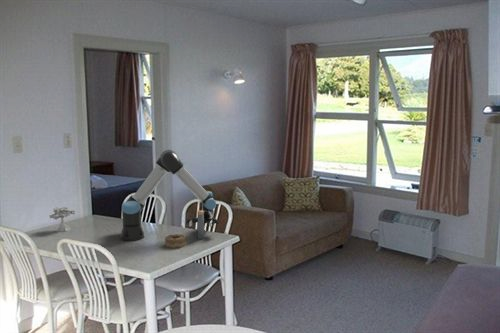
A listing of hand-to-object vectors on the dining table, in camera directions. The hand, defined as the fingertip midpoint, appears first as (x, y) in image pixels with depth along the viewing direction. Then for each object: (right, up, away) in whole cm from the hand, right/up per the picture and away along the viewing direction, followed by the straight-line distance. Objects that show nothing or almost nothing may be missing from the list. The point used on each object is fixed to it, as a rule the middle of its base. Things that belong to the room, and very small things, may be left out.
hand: (200, 224), depth 310 cm
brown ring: (-14, -11, -10) cm, 20 cm away
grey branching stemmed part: (-99, -8, +29) cm, 104 cm away
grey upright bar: (0, -9, +5) cm, 11 cm away
